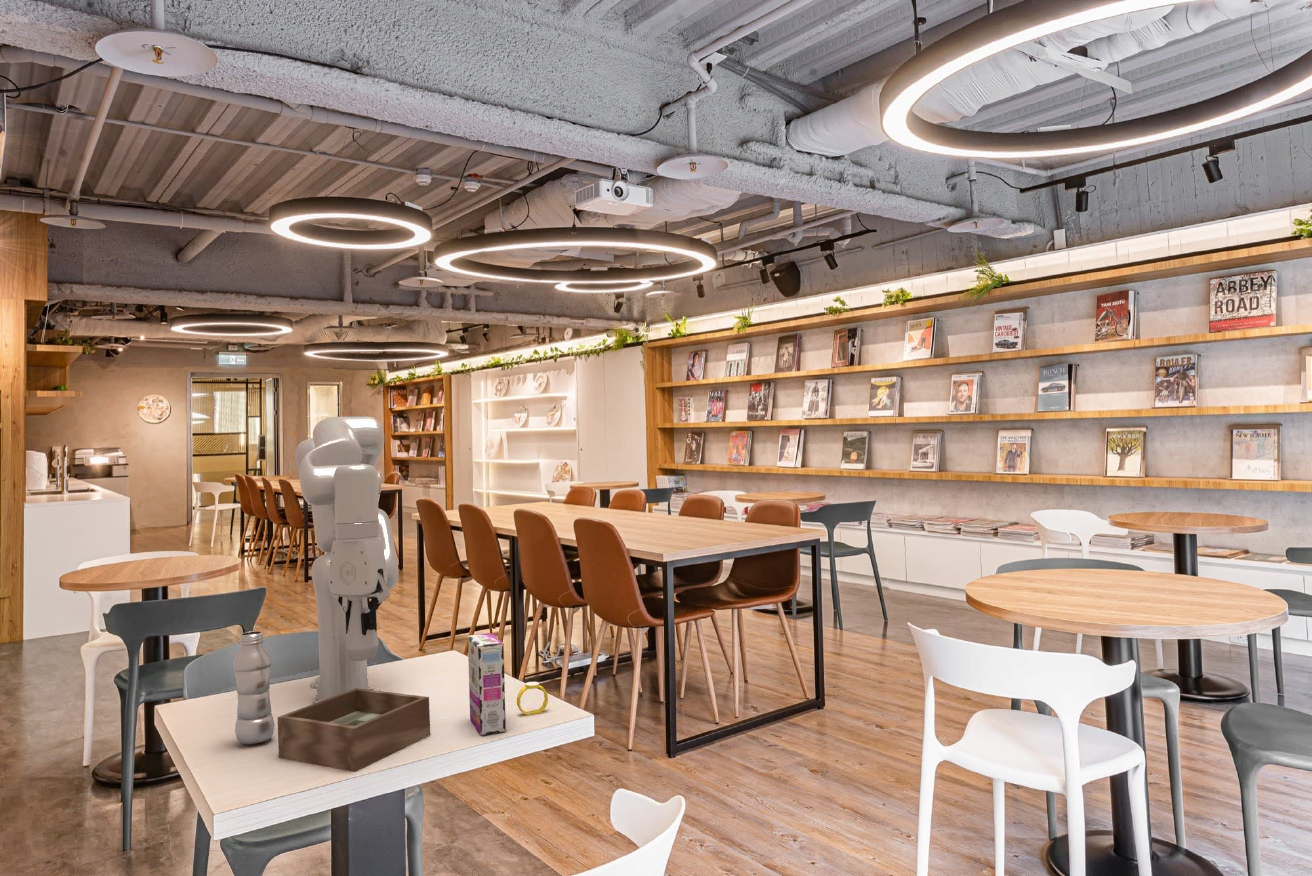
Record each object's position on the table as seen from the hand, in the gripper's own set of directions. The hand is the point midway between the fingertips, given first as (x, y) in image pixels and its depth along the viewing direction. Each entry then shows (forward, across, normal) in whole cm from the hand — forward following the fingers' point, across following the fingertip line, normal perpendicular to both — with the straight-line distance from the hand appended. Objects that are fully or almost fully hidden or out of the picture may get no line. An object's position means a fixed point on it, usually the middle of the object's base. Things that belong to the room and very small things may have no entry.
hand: (361, 632), depth 150 cm
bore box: (+20, 0, -2) cm, 20 cm away
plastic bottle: (+20, -20, -7) cm, 29 cm away
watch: (+20, +21, +23) cm, 37 cm away
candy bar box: (+20, +16, +14) cm, 30 cm away
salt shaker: (+5, 0, 0) cm, 5 cm away
